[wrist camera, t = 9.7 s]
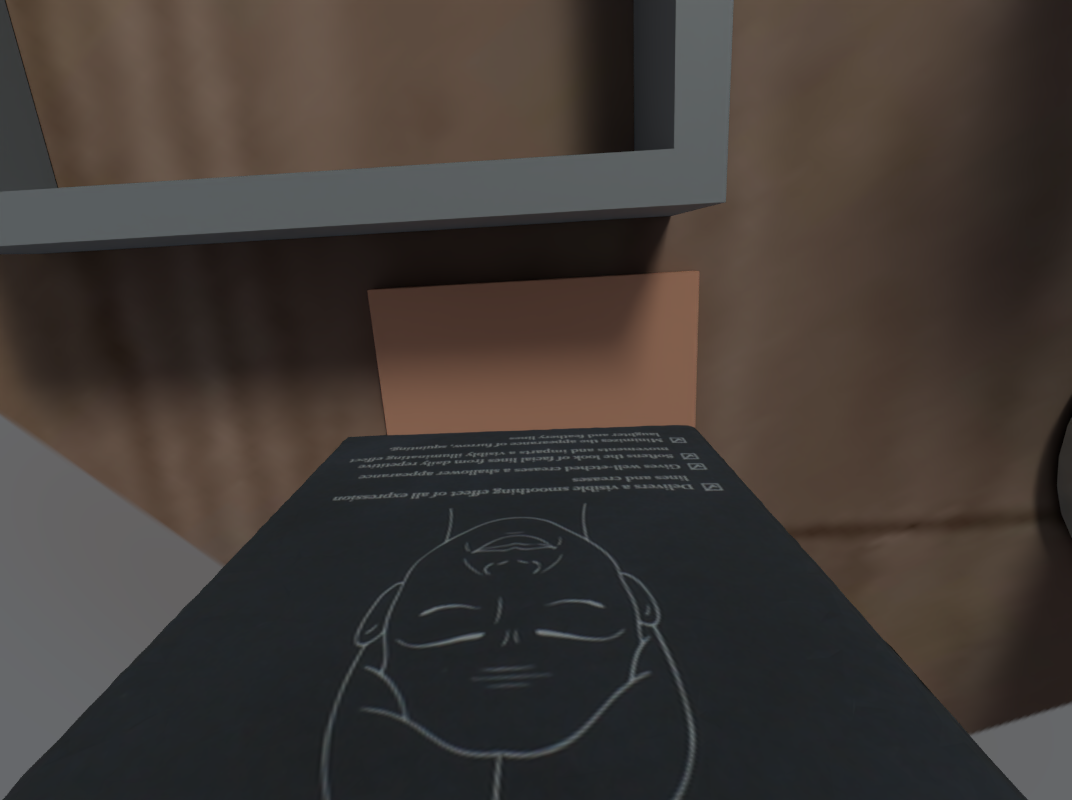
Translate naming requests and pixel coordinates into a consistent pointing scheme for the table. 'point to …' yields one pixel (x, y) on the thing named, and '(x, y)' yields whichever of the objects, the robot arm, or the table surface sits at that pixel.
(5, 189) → the enclosure
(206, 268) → the table surface
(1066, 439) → the robot arm
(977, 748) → the box
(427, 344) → the mat
